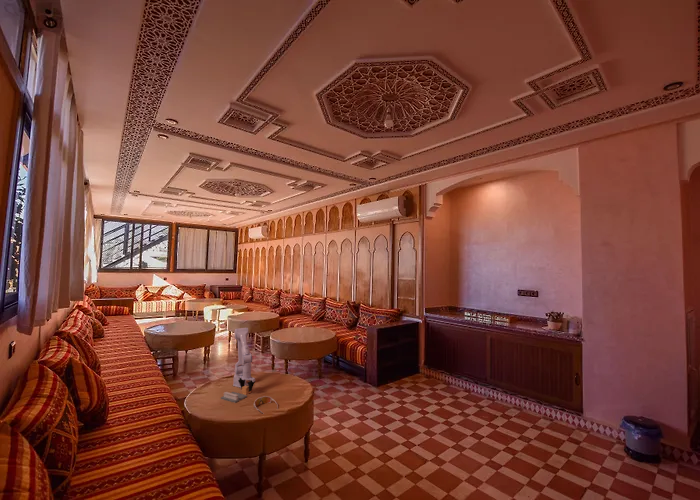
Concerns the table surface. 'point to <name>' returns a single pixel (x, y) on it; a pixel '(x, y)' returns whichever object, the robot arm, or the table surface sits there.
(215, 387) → the table surface
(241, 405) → the table surface
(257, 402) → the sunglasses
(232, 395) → the board
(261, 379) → the table surface
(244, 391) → the block
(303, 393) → the table surface
